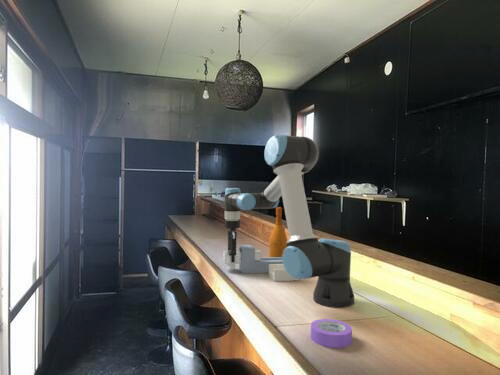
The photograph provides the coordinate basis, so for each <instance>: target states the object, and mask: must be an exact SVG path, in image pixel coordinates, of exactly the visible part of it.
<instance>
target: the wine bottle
mask: <svg viewBox="0 0 500 375" xmlns="http://www.w3.org/2000/svg"><path fill="white" fill-rule="evenodd" d="M282 212H283V208H282V207H281V206H277V207H275V215H276V218H275V219H276V220H275V223H274V227H273V229H272V232H271V233H270V237H269V242H268V247H269V248H268V255H269V256H268V258H269V257H282V255H283V251H284V249H285V248H287V244H286V242H287V241H288V238H287V234H286V227H285V225H283V222H282V216H283V213H282Z"/></svg>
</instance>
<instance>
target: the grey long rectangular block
mask: <svg viewBox="0 0 500 375" xmlns="http://www.w3.org/2000/svg"><path fill="white" fill-rule="evenodd" d="M222 254H223V256H222V262H223V264H224V265H228V264H230V256H229V254H230V250H228V249H227V250H223V252H222ZM261 258H262V251H261V250H260V249H255V262H261ZM239 264H242V250H239V249H236V261H235V265H239Z"/></svg>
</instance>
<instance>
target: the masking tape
mask: <svg viewBox="0 0 500 375" xmlns="http://www.w3.org/2000/svg"><path fill="white" fill-rule="evenodd" d="M310 340H312V341H314V342H313V343H314V344H317V345H319V346H322V347H326V348H331V349H332V348H333V349H341V348H346V347H348V346H350V345H351V344H352V343H353V342H352V341H353V328H352V326H351V325H349V324H348V323H346V322H345V321H341V320H338V319H332V318H321V319H320V318H318V319H316V320H313V321H312V322H311V323H310Z"/></svg>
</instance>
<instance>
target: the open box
mask: <svg viewBox="0 0 500 375" xmlns="http://www.w3.org/2000/svg"><path fill="white" fill-rule="evenodd" d="M238 250H242V264H238V269H239V271H240V272H241V274H256V273H257V274H258V273H269V264H283V260H282V257H269V256H268V257H261V262H255V250H256V249H255V247H254V246H253V245H251V244H239V245H238Z"/></svg>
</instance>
